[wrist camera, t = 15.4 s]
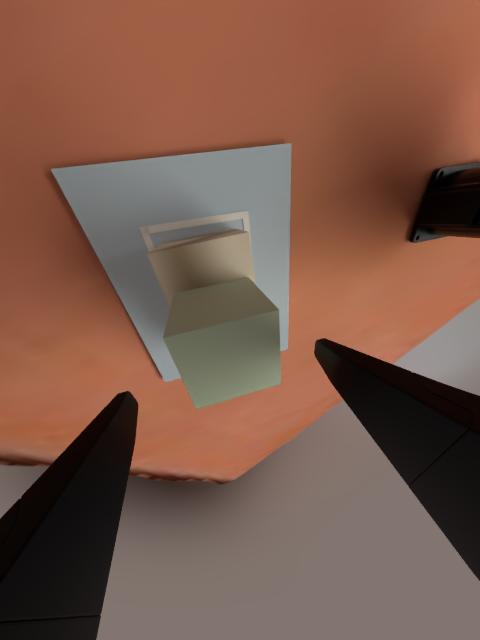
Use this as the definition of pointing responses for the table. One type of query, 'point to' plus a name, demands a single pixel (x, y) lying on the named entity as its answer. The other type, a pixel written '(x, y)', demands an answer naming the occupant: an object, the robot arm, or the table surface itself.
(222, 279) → the birch brick
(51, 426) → the table surface
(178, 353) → the sage cube
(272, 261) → the board
